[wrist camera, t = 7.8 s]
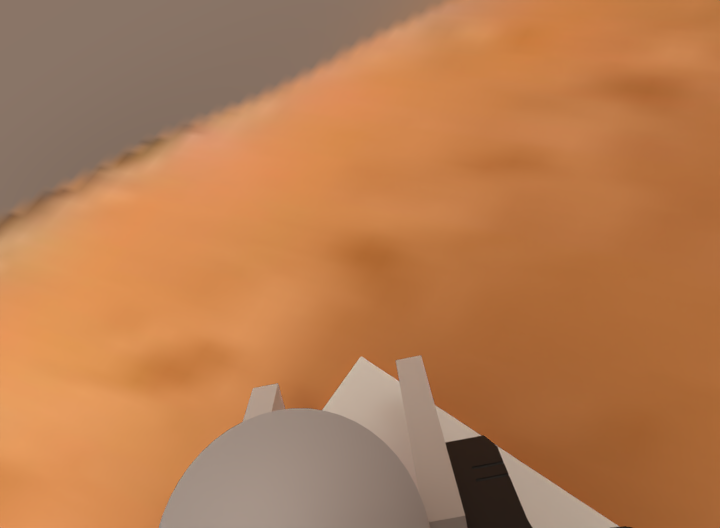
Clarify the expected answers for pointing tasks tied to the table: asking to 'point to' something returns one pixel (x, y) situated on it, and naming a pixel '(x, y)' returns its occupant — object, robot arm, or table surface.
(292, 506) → the marker
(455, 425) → the paper
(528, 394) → the table surface
